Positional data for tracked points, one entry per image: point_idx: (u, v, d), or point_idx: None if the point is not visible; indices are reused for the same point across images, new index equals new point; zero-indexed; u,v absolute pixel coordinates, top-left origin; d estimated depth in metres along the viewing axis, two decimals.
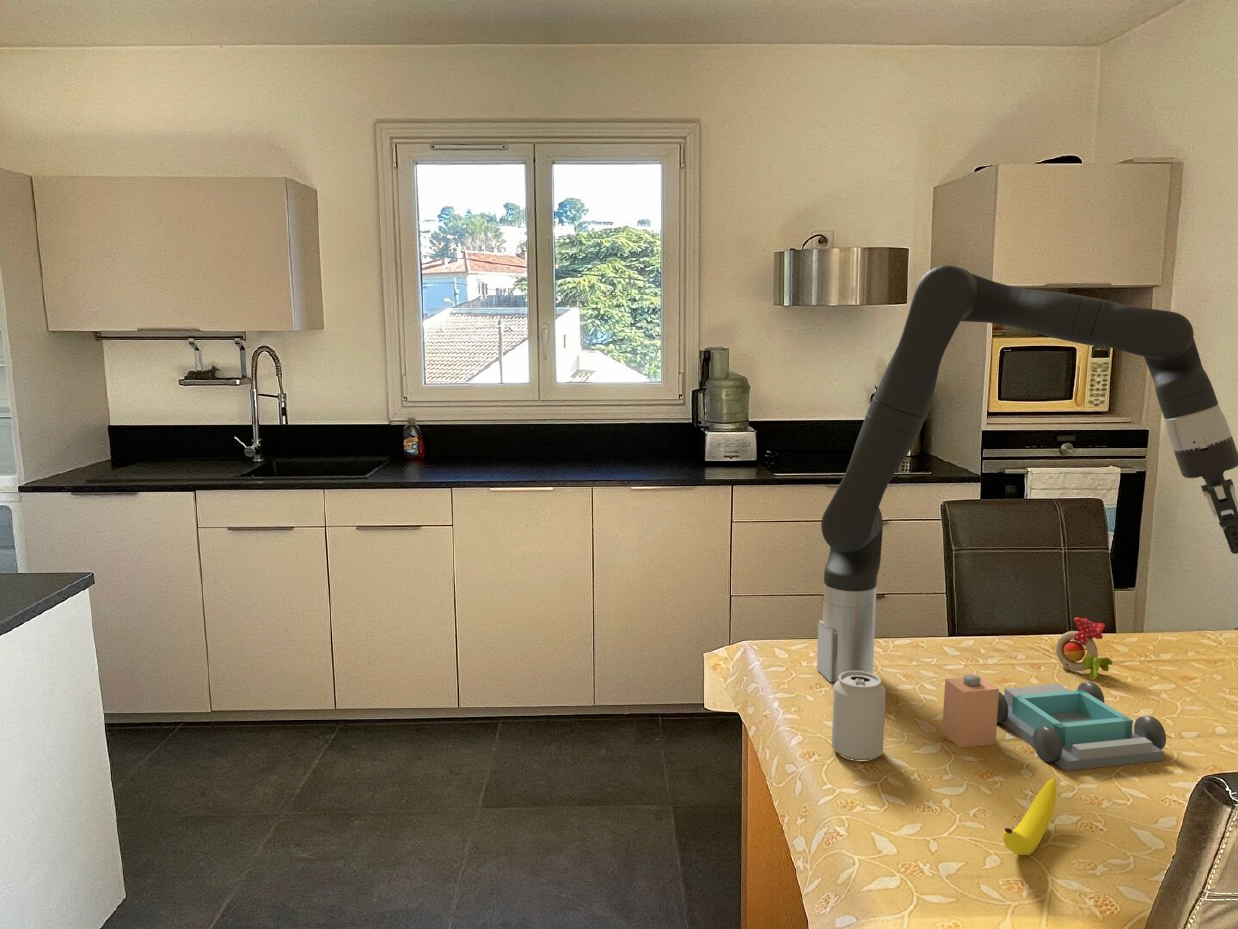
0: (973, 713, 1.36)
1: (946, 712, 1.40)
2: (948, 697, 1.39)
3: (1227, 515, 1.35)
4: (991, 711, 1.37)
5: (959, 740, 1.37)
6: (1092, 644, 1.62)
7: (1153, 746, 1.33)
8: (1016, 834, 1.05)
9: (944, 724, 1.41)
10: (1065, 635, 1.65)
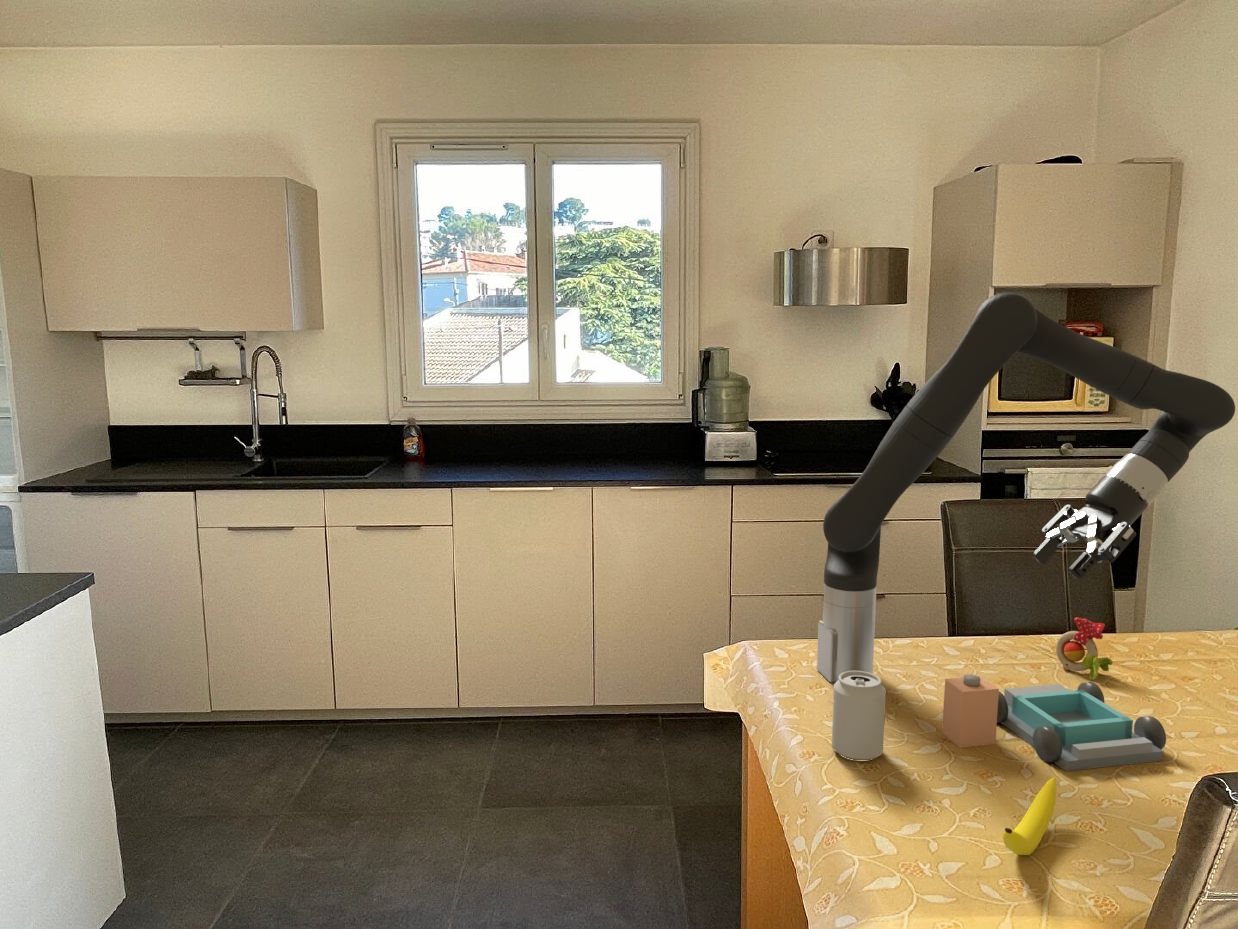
0: (973, 713, 1.36)
1: (946, 712, 1.40)
2: (948, 697, 1.39)
3: (1054, 543, 1.41)
4: (991, 710, 1.37)
5: (959, 740, 1.37)
6: (1092, 644, 1.62)
7: (1153, 746, 1.33)
8: (1016, 834, 1.05)
9: (944, 724, 1.41)
10: (1065, 635, 1.65)
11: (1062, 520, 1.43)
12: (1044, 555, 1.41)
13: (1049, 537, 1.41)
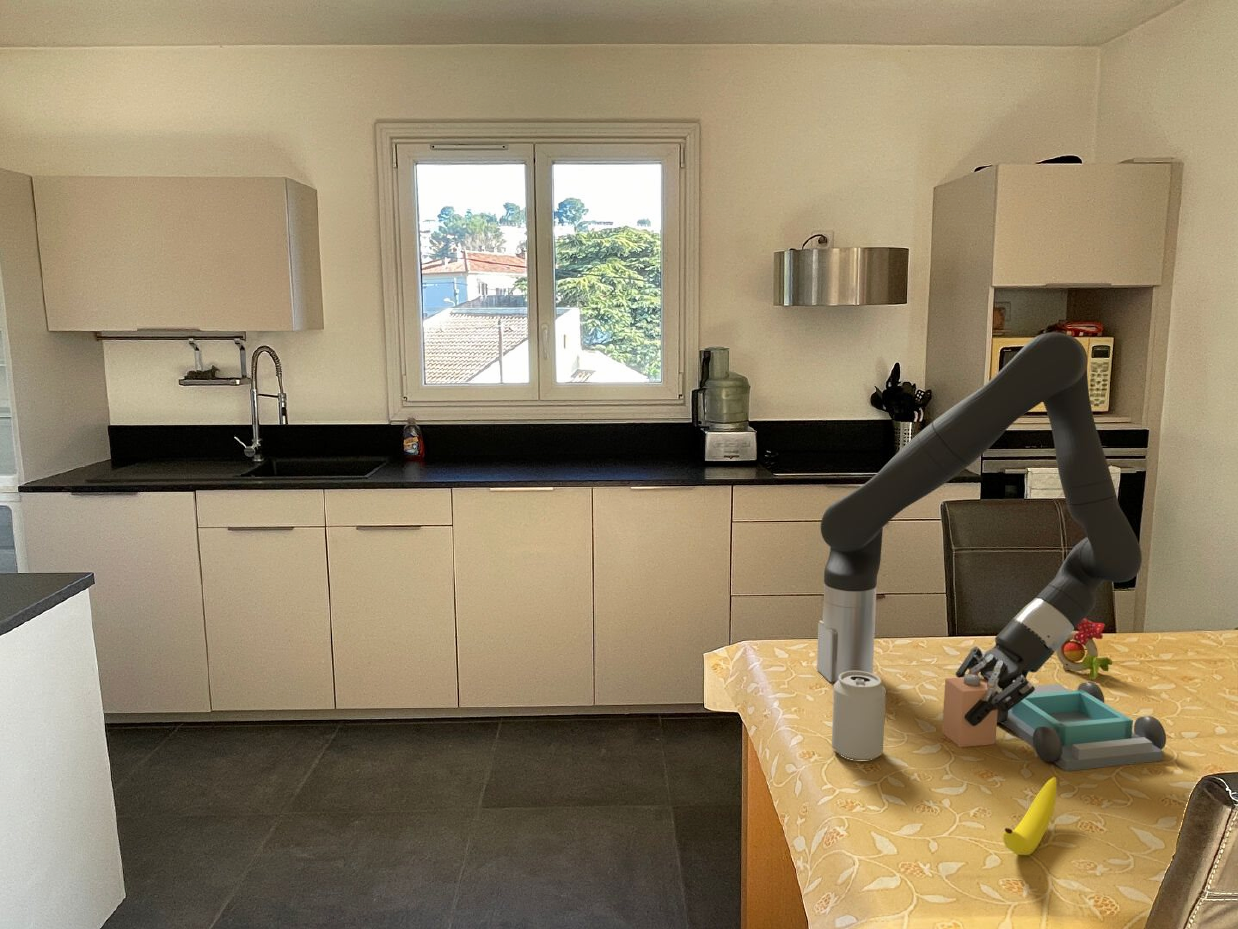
0: None
1: (946, 711, 1.40)
2: (948, 697, 1.39)
3: None
4: None
5: (959, 740, 1.37)
6: (1092, 644, 1.62)
7: (1153, 746, 1.33)
8: (1016, 834, 1.05)
9: (944, 723, 1.41)
10: None
11: (973, 663, 1.43)
12: None
13: None
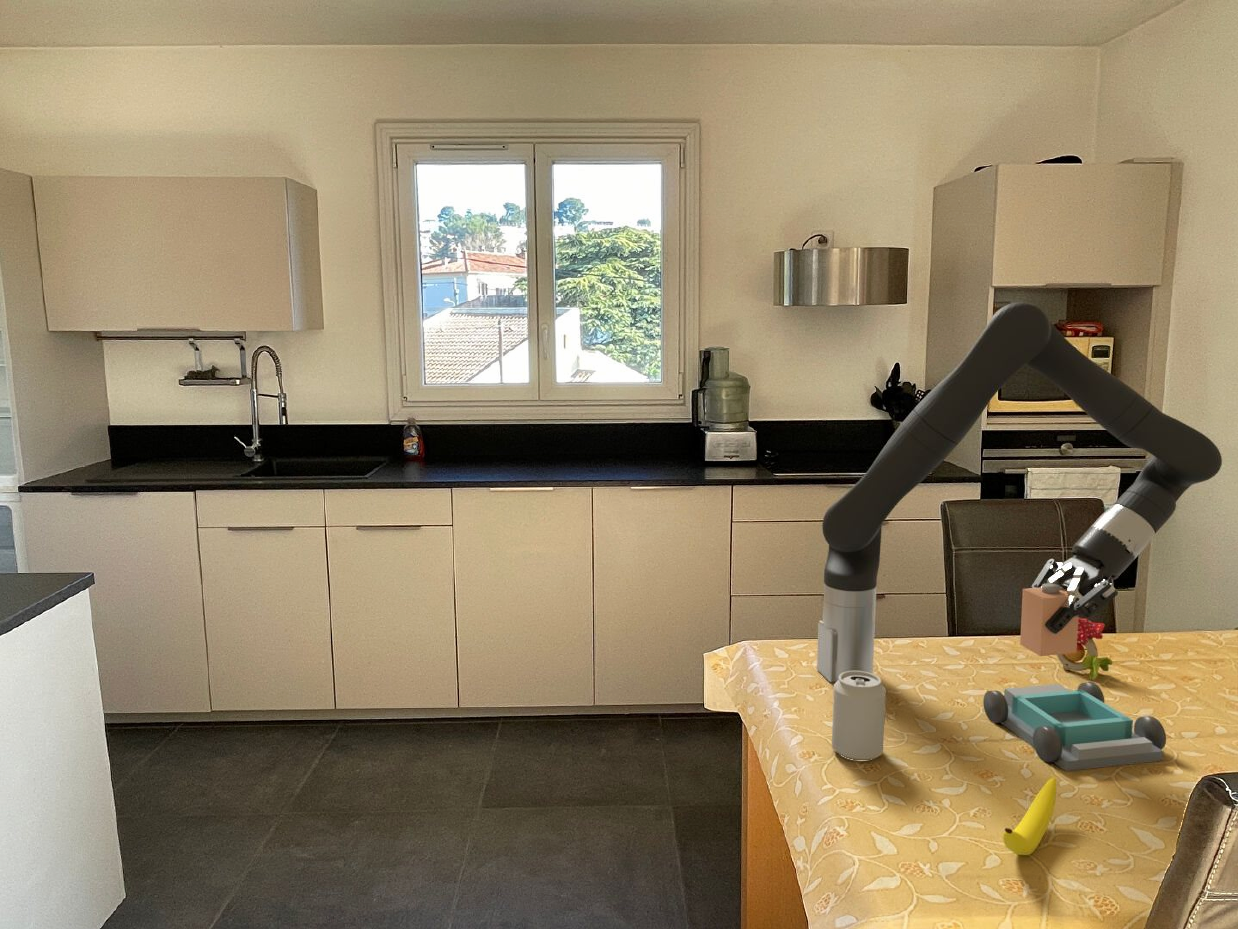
0: None
1: (1024, 622, 1.38)
2: (1026, 607, 1.37)
3: None
4: (1072, 618, 1.34)
5: (1040, 649, 1.34)
6: (1092, 644, 1.62)
7: (1153, 746, 1.33)
8: (1016, 834, 1.05)
9: (1022, 635, 1.39)
10: None
11: (1049, 574, 1.41)
12: None
13: None
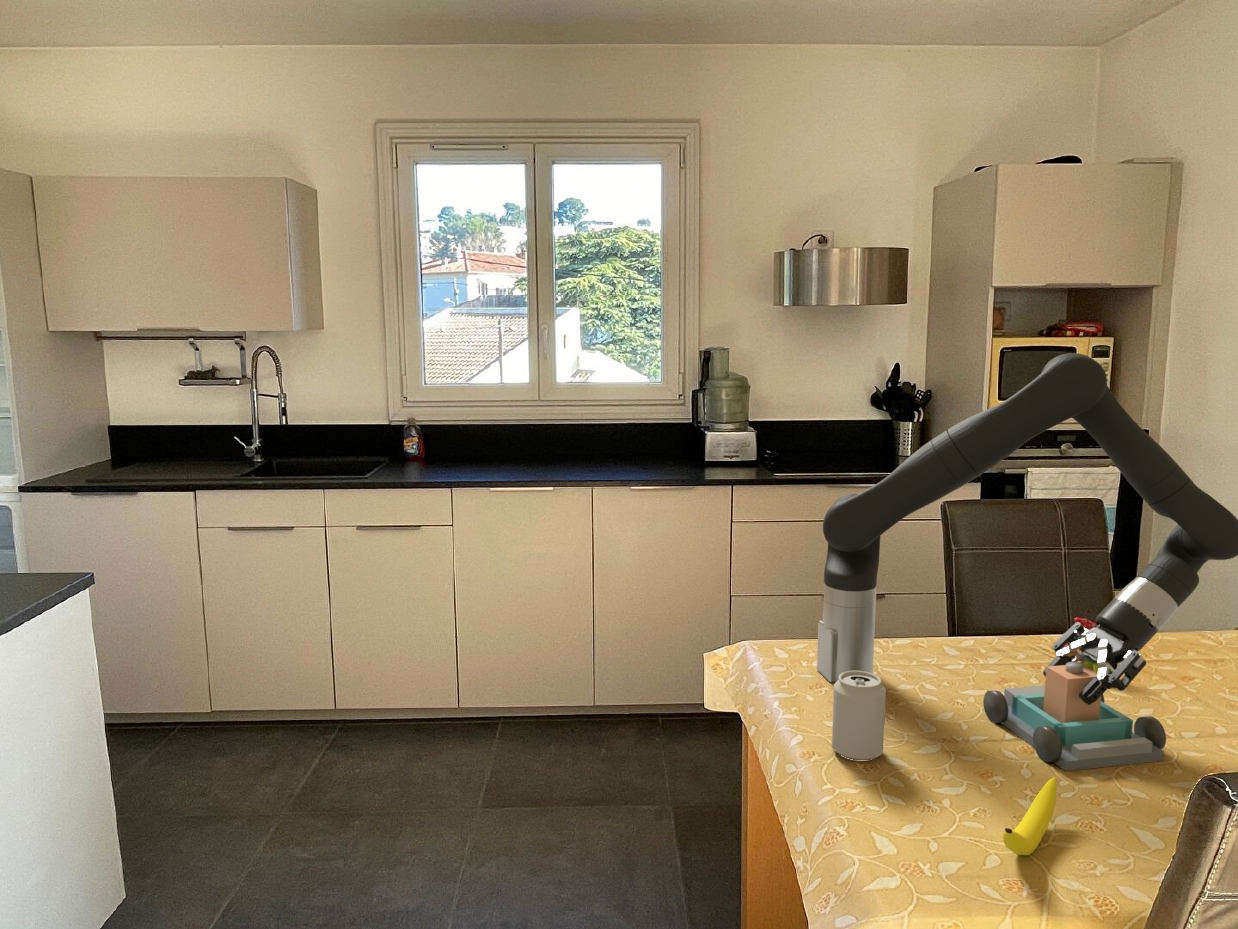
0: (1077, 700, 1.37)
1: (1047, 699, 1.41)
2: (1050, 685, 1.40)
3: (1064, 662, 1.43)
4: None
5: None
6: None
7: (1153, 746, 1.33)
8: (1016, 834, 1.05)
9: (1045, 711, 1.41)
10: None
11: (1072, 638, 1.45)
12: None
13: (1059, 656, 1.43)
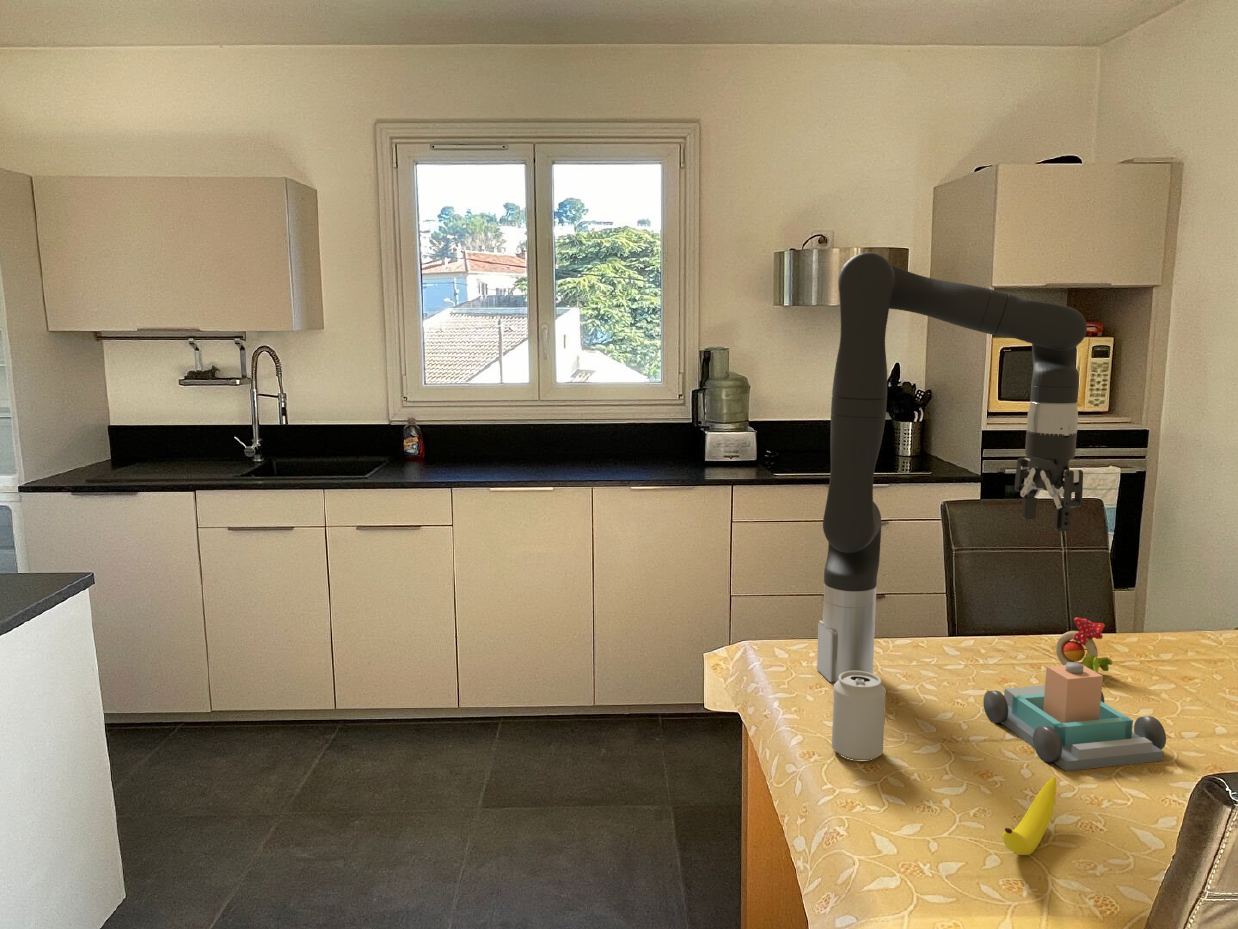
0: (1077, 700, 1.37)
1: (1047, 699, 1.41)
2: (1050, 685, 1.40)
3: (1031, 497, 1.54)
4: (1095, 698, 1.37)
5: None
6: (1092, 644, 1.62)
7: (1153, 746, 1.33)
8: (1016, 834, 1.05)
9: (1045, 711, 1.41)
10: (1065, 635, 1.65)
11: (1023, 473, 1.55)
12: (1031, 512, 1.54)
13: (1024, 496, 1.54)
